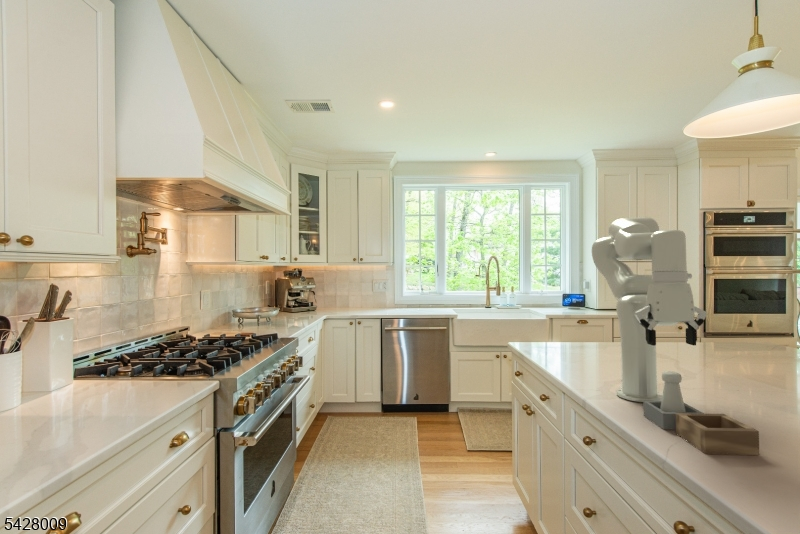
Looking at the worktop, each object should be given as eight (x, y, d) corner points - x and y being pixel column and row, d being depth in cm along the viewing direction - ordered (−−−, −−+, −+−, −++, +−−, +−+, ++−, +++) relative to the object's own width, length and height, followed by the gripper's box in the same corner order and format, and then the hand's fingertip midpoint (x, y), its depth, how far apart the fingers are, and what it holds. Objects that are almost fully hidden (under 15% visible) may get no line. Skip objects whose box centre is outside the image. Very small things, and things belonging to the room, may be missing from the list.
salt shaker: (676, 418, 109) (674, 369, 109) (692, 426, 103) (690, 374, 104) (654, 419, 109) (653, 369, 109) (669, 427, 103) (668, 375, 103)
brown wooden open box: (676, 434, 99) (675, 413, 99) (724, 434, 98) (723, 413, 98) (705, 454, 88) (704, 430, 88) (759, 455, 87) (758, 431, 87)
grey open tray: (643, 415, 112) (643, 401, 112) (681, 416, 111) (681, 401, 111) (663, 429, 102) (663, 413, 102) (705, 430, 101) (705, 413, 101)
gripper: (695, 277, 110) (697, 342, 109) (627, 278, 111) (629, 342, 111) (714, 277, 102) (716, 347, 102) (641, 279, 104) (643, 347, 103)
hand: (671, 344), depth 106 cm, fingers open, 9 cm apart
